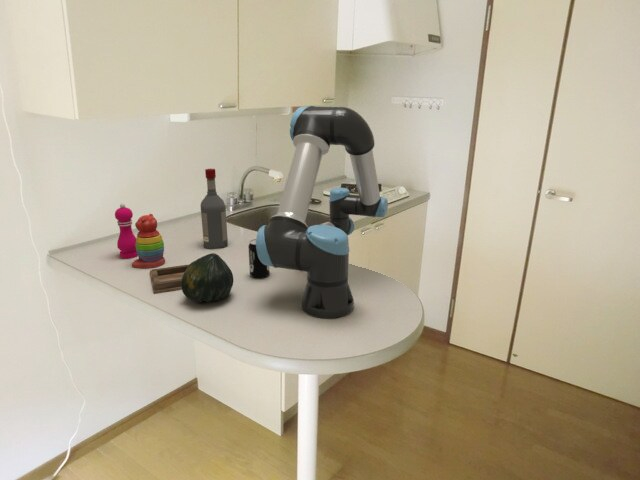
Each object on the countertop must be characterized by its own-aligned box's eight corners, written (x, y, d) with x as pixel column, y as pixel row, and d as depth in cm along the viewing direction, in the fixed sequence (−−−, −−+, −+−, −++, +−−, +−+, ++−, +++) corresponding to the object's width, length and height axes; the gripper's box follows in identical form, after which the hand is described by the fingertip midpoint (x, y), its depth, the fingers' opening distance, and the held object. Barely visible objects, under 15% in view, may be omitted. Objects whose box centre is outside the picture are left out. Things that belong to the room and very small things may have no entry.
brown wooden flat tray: (206, 285, 155) (206, 277, 154) (154, 293, 149) (153, 285, 148) (197, 266, 171) (197, 258, 170) (150, 272, 165) (149, 265, 164)
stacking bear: (148, 256, 180) (142, 210, 174) (172, 259, 177) (167, 212, 171) (129, 267, 170) (122, 218, 164) (154, 270, 167) (148, 220, 161)
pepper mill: (122, 260, 176) (115, 207, 169) (116, 255, 181) (108, 203, 175) (142, 256, 180) (135, 203, 174) (135, 251, 185) (128, 200, 179)
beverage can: (266, 279, 160) (264, 245, 156) (247, 278, 161) (245, 243, 157) (272, 272, 166) (270, 238, 162) (253, 270, 167) (252, 237, 163)
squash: (167, 279, 146) (184, 251, 137) (209, 267, 157) (227, 241, 147) (189, 319, 142) (207, 293, 133) (230, 304, 153) (250, 279, 143)
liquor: (226, 240, 197) (221, 166, 187) (228, 247, 189) (223, 171, 179) (203, 242, 195) (197, 167, 185) (204, 249, 187) (198, 172, 177)
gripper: (347, 251, 175) (306, 267, 161) (298, 236, 192) (257, 250, 177) (347, 231, 173) (305, 246, 158) (298, 218, 189) (256, 230, 174)
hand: (280, 248), depth 168 cm, fingers open, 13 cm apart
